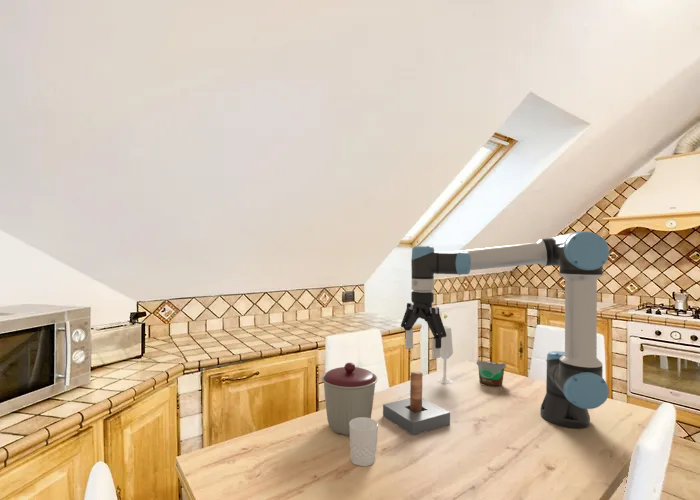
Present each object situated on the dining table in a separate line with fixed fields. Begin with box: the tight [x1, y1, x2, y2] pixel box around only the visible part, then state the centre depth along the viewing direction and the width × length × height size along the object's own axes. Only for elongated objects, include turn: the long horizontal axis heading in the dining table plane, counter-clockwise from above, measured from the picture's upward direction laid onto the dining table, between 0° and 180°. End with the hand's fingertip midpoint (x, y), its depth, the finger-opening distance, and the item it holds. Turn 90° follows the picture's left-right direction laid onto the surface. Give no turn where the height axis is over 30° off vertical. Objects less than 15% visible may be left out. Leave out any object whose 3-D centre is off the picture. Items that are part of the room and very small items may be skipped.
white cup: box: [349, 417, 379, 467], centre depth 105 cm, size 8×8×10 cm
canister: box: [321, 362, 379, 436], centre depth 124 cm, size 18×18×21 cm
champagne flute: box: [436, 325, 454, 385], centre depth 170 cm, size 7×7×24 cm
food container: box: [476, 359, 507, 388], centre depth 166 cm, size 12×6×10 cm, turn 62°
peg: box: [409, 370, 424, 413], centre depth 130 cm, size 4×4×16 cm
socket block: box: [382, 397, 451, 436], centre depth 130 cm, size 16×16×4 cm
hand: (422, 353), depth 131 cm, fingers open, 13 cm apart
